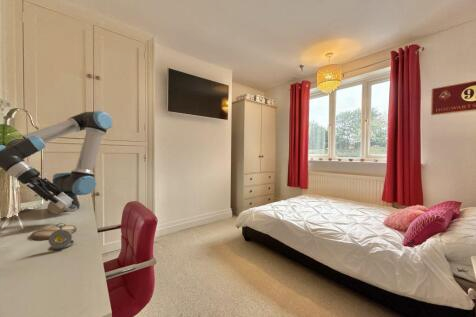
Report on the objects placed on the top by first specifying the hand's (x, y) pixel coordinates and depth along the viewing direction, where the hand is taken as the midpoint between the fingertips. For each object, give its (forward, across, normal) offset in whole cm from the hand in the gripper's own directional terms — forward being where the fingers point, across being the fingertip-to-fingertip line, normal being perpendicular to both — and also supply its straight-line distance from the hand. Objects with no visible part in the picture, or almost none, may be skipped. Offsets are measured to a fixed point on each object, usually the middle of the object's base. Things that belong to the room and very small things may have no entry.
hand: (67, 204), depth 101 cm
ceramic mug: (+1, 0, -4) cm, 4 cm away
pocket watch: (+12, +31, -2) cm, 33 cm away
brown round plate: (+7, +14, -7) cm, 17 cm away
